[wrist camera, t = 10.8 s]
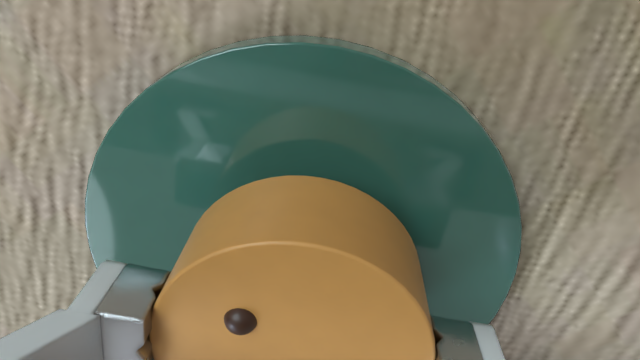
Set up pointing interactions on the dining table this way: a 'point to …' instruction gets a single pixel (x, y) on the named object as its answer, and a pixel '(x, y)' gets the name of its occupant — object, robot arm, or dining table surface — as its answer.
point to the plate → (311, 159)
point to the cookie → (295, 280)
